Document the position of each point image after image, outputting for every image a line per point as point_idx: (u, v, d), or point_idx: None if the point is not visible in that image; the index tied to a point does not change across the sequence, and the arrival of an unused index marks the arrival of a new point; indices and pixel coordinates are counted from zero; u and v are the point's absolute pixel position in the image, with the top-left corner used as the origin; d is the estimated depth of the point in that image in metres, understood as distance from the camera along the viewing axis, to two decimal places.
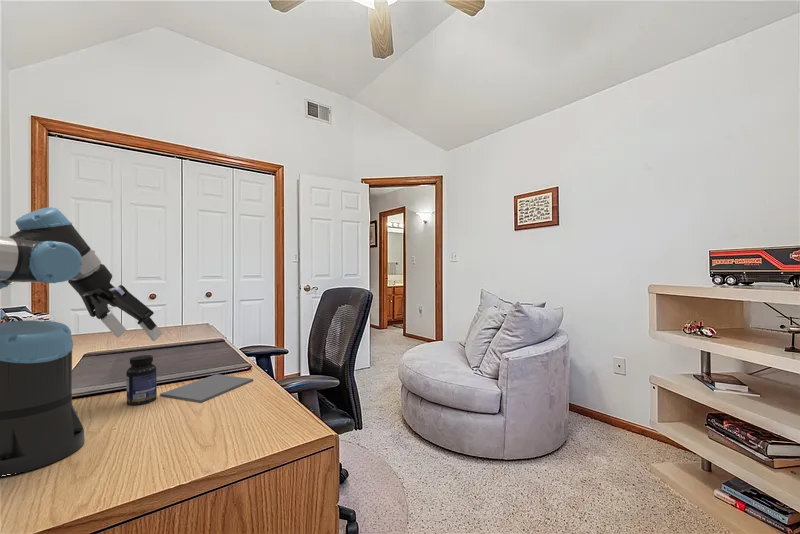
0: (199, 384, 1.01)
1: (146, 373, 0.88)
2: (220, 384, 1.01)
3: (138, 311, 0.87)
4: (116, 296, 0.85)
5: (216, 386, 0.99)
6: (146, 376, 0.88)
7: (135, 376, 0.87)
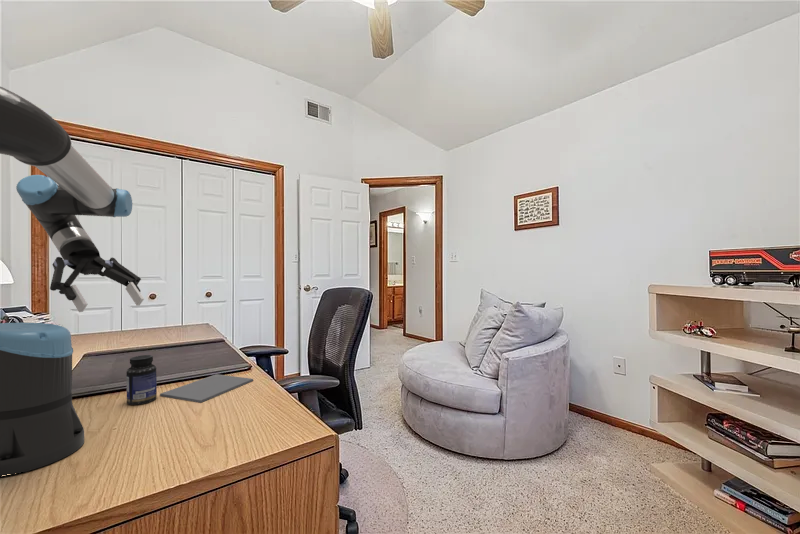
0: (199, 384, 1.01)
1: (146, 373, 0.88)
2: (220, 384, 1.01)
3: None
4: (115, 261, 1.03)
5: (216, 386, 0.99)
6: (146, 376, 0.88)
7: (135, 376, 0.87)
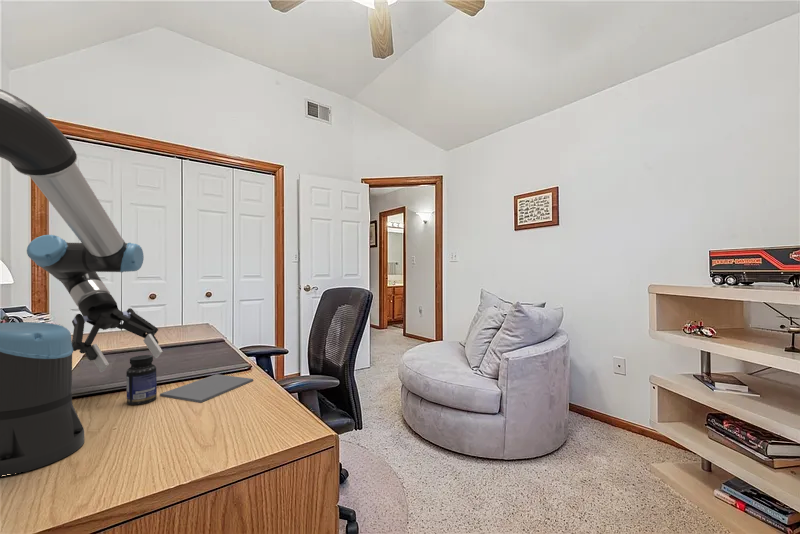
0: (199, 384, 1.01)
1: (146, 373, 0.88)
2: (220, 384, 1.01)
3: None
4: (132, 312, 1.02)
5: (216, 386, 0.99)
6: (146, 376, 0.88)
7: (135, 376, 0.87)
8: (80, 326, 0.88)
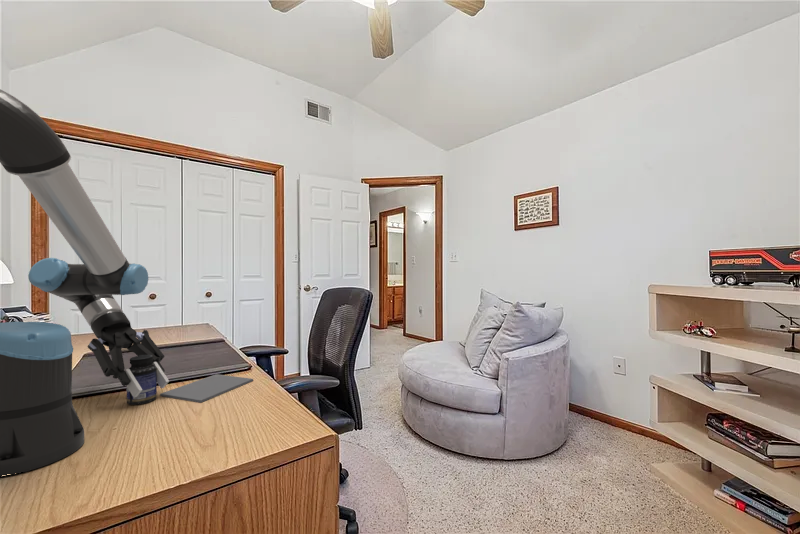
0: (199, 384, 1.01)
1: (146, 373, 0.88)
2: (220, 384, 1.01)
3: None
4: (146, 334, 0.98)
5: (216, 386, 0.99)
6: (146, 376, 0.88)
7: (135, 376, 0.87)
8: (103, 351, 0.86)
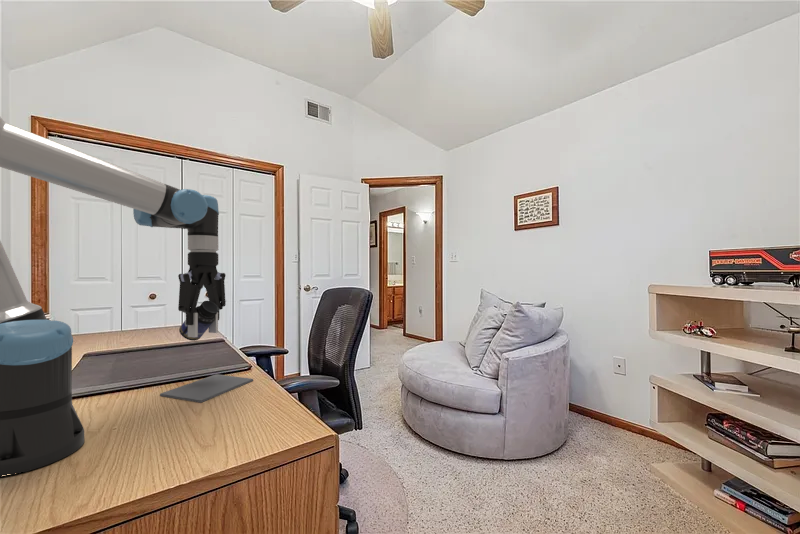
0: (199, 384, 1.01)
1: (206, 323, 0.99)
2: (220, 384, 1.01)
3: None
4: (223, 278, 1.05)
5: (216, 386, 0.99)
6: (205, 325, 0.99)
7: (198, 321, 0.98)
8: (188, 289, 0.94)
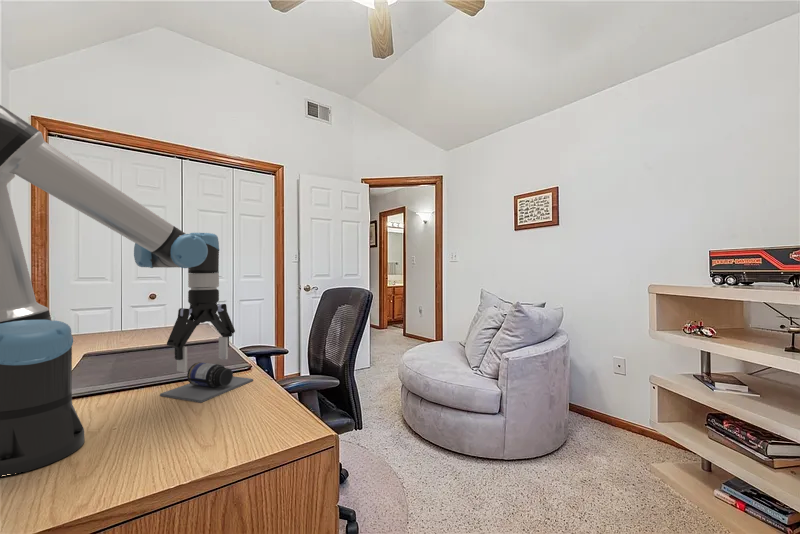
0: None
1: (214, 387, 0.98)
2: None
3: None
4: (225, 309, 1.06)
5: None
6: None
7: (207, 384, 0.96)
8: (183, 324, 0.93)
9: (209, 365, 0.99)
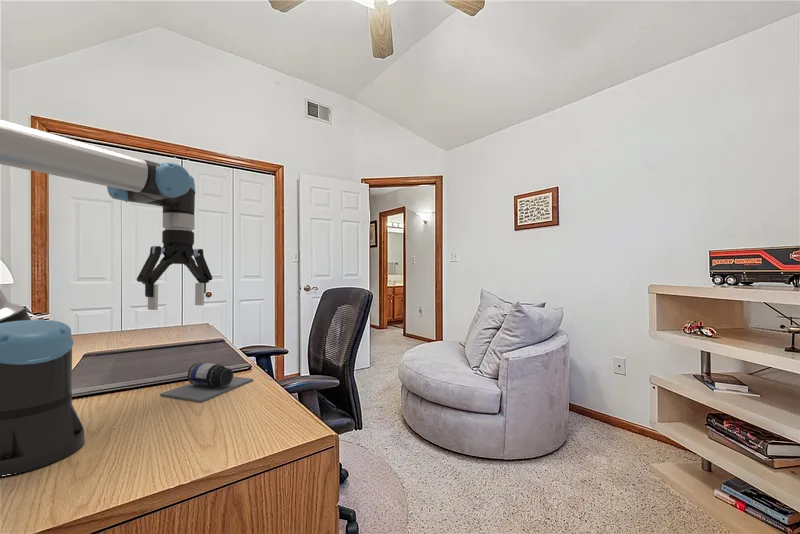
0: None
1: (214, 387, 0.98)
2: None
3: None
4: (201, 254, 1.05)
5: None
6: None
7: (207, 384, 0.97)
8: (154, 261, 0.92)
9: (210, 365, 0.99)
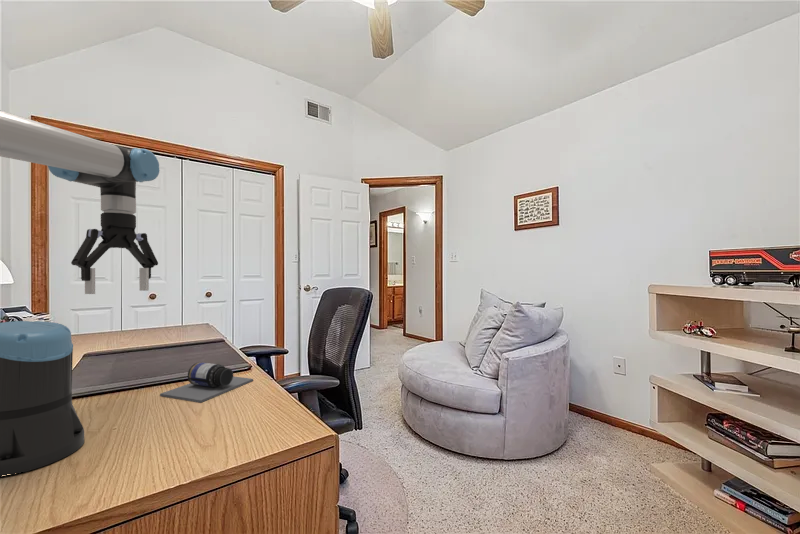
0: None
1: (214, 387, 0.98)
2: None
3: None
4: (145, 238, 1.03)
5: None
6: None
7: (207, 384, 0.97)
8: (90, 244, 0.90)
9: (210, 365, 0.99)
